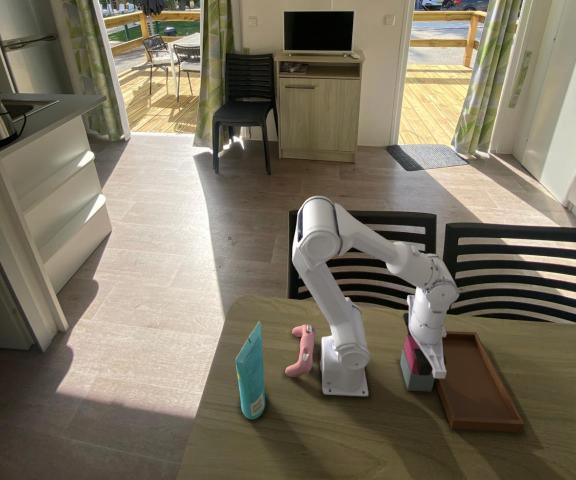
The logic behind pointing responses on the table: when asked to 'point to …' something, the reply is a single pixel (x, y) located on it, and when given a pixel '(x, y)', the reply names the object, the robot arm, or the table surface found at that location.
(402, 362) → the grey block
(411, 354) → the plum block
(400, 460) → the table surface
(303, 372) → the video game controller
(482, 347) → the tray
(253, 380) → the tube
